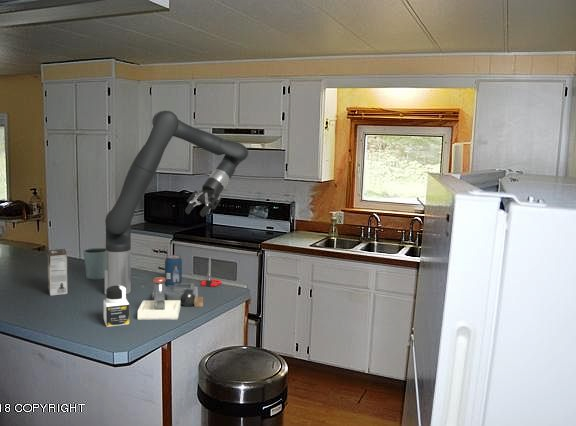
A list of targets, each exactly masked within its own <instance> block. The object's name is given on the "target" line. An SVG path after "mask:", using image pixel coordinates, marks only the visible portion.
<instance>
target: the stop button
mask: <svg viewBox="0 0 576 426" xmlns="http://www.w3.org/2000/svg"><path fill="white" fill-rule="evenodd" d="M165 281H166V280H165V276H155V277H153V278H152V282H153V291H154V310H165V286H166V283H165Z"/></svg>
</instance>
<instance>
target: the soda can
mask: <svg viewBox="0 0 576 426" xmlns="http://www.w3.org/2000/svg"><path fill="white" fill-rule="evenodd" d="M165 258H166V259H165V260H164V277H165V280H166V281H165V285H166V286H174V284H175V283H182V281H183V275H182V274H183V271H182V270H183V260H182V257H181V256H180V255H177V254H171V255H170V254H169V255H167V256H166V257H165Z"/></svg>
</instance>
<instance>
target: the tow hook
mask: <svg viewBox="0 0 576 426" xmlns="http://www.w3.org/2000/svg"><path fill="white" fill-rule="evenodd" d="M211 257H212V256H210V255H209V256H208V262H207V263H208V264H207V274H206V275H207V276H206V279H204V280H202V281H201V282H200V286H204V287H210V288H211V287H214V288H216V287H217V286H220V285H221V284H222V280H219V279H212V274H211V273H212V272H211V271H212V270H211V269H212V260H211V259H212V258H211Z"/></svg>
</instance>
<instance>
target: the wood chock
mask: <svg viewBox="0 0 576 426" xmlns="http://www.w3.org/2000/svg"><path fill="white" fill-rule="evenodd" d="M194 307H196V308H197V307H201V308H202V307H204V296H198V297H195V305H194Z"/></svg>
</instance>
